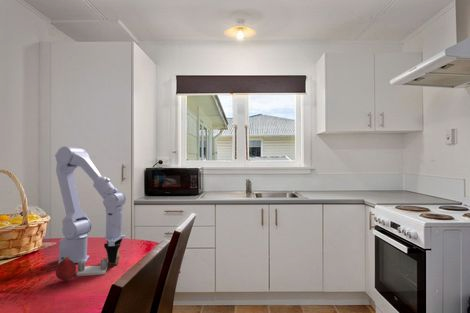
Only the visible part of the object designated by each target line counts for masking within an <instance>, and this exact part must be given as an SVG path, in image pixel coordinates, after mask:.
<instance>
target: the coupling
mask: <svg viewBox="0 0 470 313" xmlns="http://www.w3.org/2000/svg"><path fill="white" fill-rule="evenodd" d="M120 256H121V255H120V248H119V249H118V252H117V257H116V261H115V263H109V260H108V254H107V253H106V259H107V265H108V266H110V267H113V266H114V267H115V266H117V265H119V263H120V262H119V261H120V260H119V259H120Z"/></svg>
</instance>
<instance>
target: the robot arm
mask: <svg viewBox="0 0 470 313" xmlns="http://www.w3.org/2000/svg"><path fill="white" fill-rule="evenodd" d="M85 149H86V148H85ZM85 149H84V148H83V147H74V146H72V147H70V146H61V147H60V148H58V150H57V151H56V153H55V154H54V157H55V161H56V167H55V168H56V169H55V172H56V177H57V182H58V185H59V189H60V193H61V196H62V198H61V199H62V201H63V206H64V211H65V214H66V215H65V216H64V217H63V219H62V221H61V222H62V228H61V229H62V230H61V231H62V235H63V236H64V237H61V239H60V240H59V247H58V263H57V265H58V264H59V263H60V262H61V261H62V260H63V259H64V258H65V257H67V256H68V257H69V260H71V261H73V262H74V264H78V262H79V261H81V259H83V260H85V263H87V261H88V260H89V258H90V255H88V236H89V233H90V232H91V231H92V228H93V226H92V222H91V220H90V219H89V216H88V214H87V213H86V212H84V211H83V210H82V206H81V201H80V197H79V193H78V189H77V184H76V182H75V177H74V172H75V170H76V169H77V168H78V167H80V168H81V169H82V170H83V171H84V173H86V174H87V176H88V177H89V178H90V179H91V180H92V181H93V185H92V186H93V188H94V190H96V191H97V193H98V194H99V195H100V197H101V198H102V199H103V200H102V204H103V206H104V208H105V212H106V213H105V236H104V239H105V240H106V242H105V243H104V245H103V246H104V249H105V251H106V255H107V254H108V260H109V263H115V261H116V257H117V252H118V249H119V250H120V247H121V243H122V241H123V239H124V238H125V237H126V234H122V232H123V206H124V205H125V203H126V200H127V199H126V195H125V194H124V192H123V191H120V190H118V188H116V187H115V185H113V183H112V182H111V178H109V177H107V176H102V174H101V173H100V172H99V171H100V170H98V168H97V167H96V166H95V164H94V163H93V162H92V160H91V158H90V154H89V153H88V152H87V151H86V150H85Z"/></svg>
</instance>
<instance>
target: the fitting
mask: <svg viewBox="0 0 470 313" xmlns="http://www.w3.org/2000/svg"><path fill="white" fill-rule="evenodd" d="M107 270H108V265H107V258H105V257H103V258H102V259H100V264H99V265H87V266H86V262H85V260H83V259H81V261H79V262H78V263H77V271H76V277H83V276H84V277H85V276H95V275H96V276H98V275H106V272H107Z"/></svg>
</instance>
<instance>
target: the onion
mask: <svg viewBox="0 0 470 313" xmlns="http://www.w3.org/2000/svg"><path fill="white" fill-rule="evenodd" d="M58 263H59V262H58ZM58 263H57V265H56V267H55V276H56V277H57V279H59V280H60V281H63V282H68V281H69V280H70V279H71V278H72V277H73V276H74V275H75V273H77V265H76V263H74V262H73V261H71V260H69V257H68V256H67V257H65V258H64V259H63V260H62V261H61V262H60V263H59V264H58Z"/></svg>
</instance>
